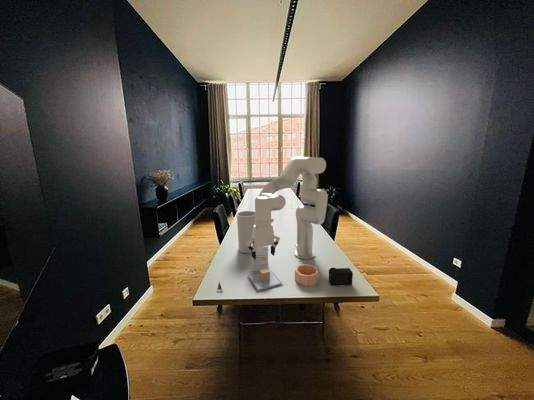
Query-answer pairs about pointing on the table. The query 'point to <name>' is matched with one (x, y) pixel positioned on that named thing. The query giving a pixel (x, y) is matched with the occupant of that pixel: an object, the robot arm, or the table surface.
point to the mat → (264, 289)
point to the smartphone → (219, 288)
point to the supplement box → (260, 258)
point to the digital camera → (340, 276)
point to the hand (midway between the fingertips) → (263, 256)
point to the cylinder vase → (245, 229)
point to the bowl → (306, 274)
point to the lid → (264, 280)
